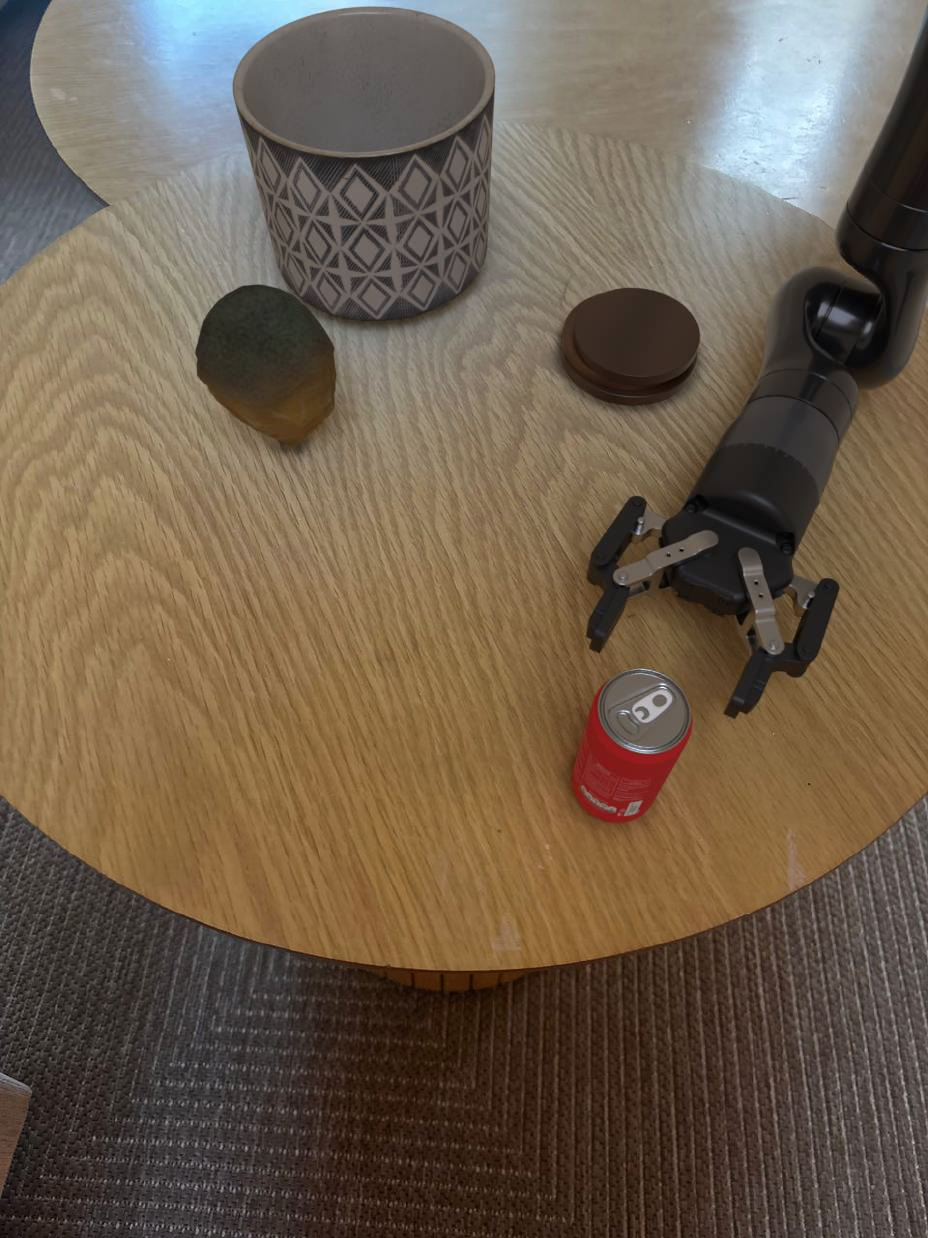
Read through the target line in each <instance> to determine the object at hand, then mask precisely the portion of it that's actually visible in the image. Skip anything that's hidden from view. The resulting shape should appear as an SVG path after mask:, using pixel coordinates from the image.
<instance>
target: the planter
mask: <svg viewBox="0 0 928 1238" xmlns="http://www.w3.org/2000/svg"><path fill="white" fill-rule="evenodd" d="M232 78H233V79H232V86H231V87H232V90H231V91H232V97H233V100H234V104H235V108H236V112H237V116H238V120H239V123H240V127H241V131H242V135H243V138H244V139H243V140H244V142H245V147H246V149H247V153H248V159H249V161H250V166H251V169H252V173H253V177H254V180H255V181H254V182H255V185H256V188H257V193H258V195H259V199H260V203H261V207H262V212H263V215H264V218H265V222H266V223H265V224H266V226H267V231H268V234H269V237H270V241H271V245H272V248H273V253H274V257H275V261H276V264H277V265H276V266H277V268H278V270H279V273H280V275H281V276H282V279H283V280H284V282H285V283H286V284H287V285H288V287H289V288H290V289H291V290H292V291H293V292H294V294H296V295H297V296H298V297H299V298H300V299H301V300H303V301H305V303H307V304H309V305H310V306H312V307H314V308H316V309H318V310H320V311H322V312H325V313H327V314H330V315H333V316H336V317H338V318H339V317H340V318H344V319H348V320H354V321H362V322H389V321H400V320H405V319H410V318H413V317H417V316H421V315H425V314H427V313H430V312H432V311H435V310H437V309H439V308H441V307H443V306H445V305H447V304H449V303H450V302H451V301H453V300H455V299H456V298H457V297H459V296H460V295H461V294H462V293H464V292H465V291H466V290H467V289H468V288H469V287H470V286H471V285H472V283H474V281H475V280H476V278H477V276H478V275H479V274H480V272H481V270H482V268H483V265H484V263H485V260H486V257H487V251H488V239H489V221H490V220H489V219H490V217H489V216H490V197H491V177H492V176H491V175H492V157H493V154H492V153H493V133H494V115H495V114H494V112H495V93H496V69H495V65H494V62H493V59H492V57H491V55H490V53H489V51H488V50H487V49H486V48H485V46H484V44H482V43H481V42H480V41H479V40H478V39H477V37H475V36H474V35H473V34H472V33H470V32H469V31H467V30H466V29H465V28H463V27H461V26H459V25H457V24H456V23H454V22H452V21H449V20H448V19H444V18H443V17H440V16H438V15H437V16H436V15H435V14H430V13H428V12H424V11H419V10H415V9H408V8H402V7H393V6H374V5H373V6H369V5H367V6H351V7H343V8H336V9H331V10H325V11H321V12H317V13H313V14H310V15H307V16H304V17H300V18H298V19H296V20H293V21H291V22H288V23H285V24H284V25H282V26H280V27H278V28H276V29H274V30H273V31H271V32H269V33H268V34H266V35H265V36H263V37H262V38H260V39H259V40H258V41H256V43H254V45H253V46H252V47H250V48H249V50H248V51H247V52H246V53H244V55H243V57H242V58H241V59H240V61H239V63H238V65H237V67H236V69H235V72H234V75H233V77H232Z"/></svg>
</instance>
